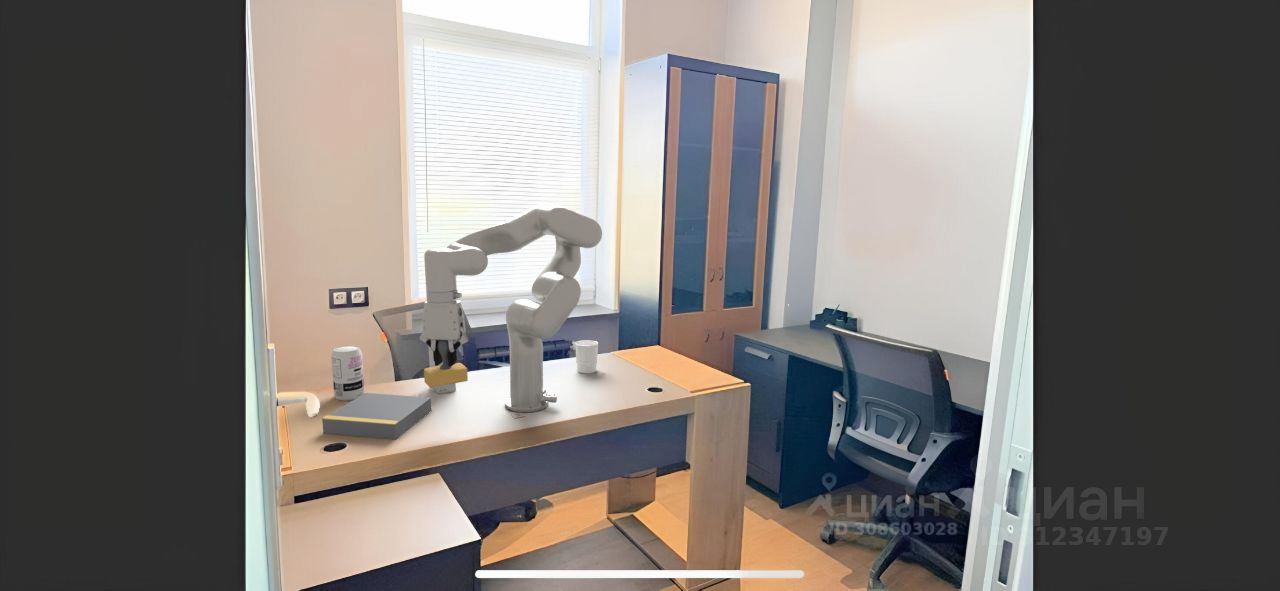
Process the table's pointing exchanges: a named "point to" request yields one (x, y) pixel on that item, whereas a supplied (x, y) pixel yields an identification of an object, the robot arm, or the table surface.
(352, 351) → the supplement can
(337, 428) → the block
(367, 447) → the table surface
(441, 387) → the skincare box
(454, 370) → the rubber stamp
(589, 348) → the white cup
